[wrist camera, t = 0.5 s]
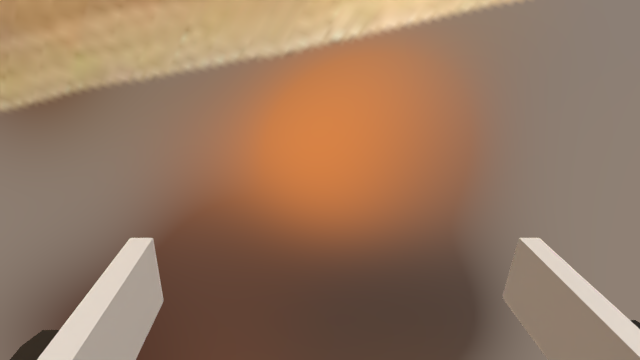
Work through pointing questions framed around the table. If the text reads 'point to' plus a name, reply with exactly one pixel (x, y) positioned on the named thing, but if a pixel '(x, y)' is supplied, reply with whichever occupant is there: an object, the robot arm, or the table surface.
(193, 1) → the table surface
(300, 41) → the table surface
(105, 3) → the table surface
